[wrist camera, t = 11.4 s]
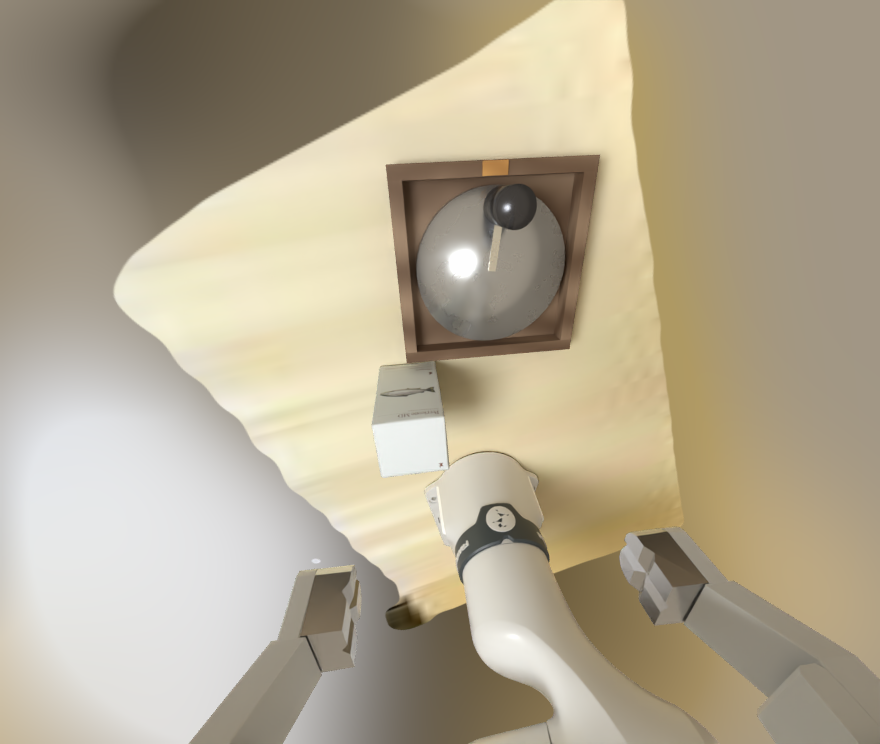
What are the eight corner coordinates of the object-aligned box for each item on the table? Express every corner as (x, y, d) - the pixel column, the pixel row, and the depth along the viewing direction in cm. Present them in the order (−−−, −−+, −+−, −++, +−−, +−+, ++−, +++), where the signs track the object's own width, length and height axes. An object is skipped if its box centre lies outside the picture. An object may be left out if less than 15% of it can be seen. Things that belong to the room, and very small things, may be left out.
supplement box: (435, 358, 42) (447, 416, 31) (439, 405, 46) (450, 472, 35) (378, 364, 42) (370, 424, 31) (386, 411, 45) (381, 480, 34)
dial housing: (559, 339, 43) (570, 349, 40) (406, 352, 41) (406, 363, 39) (584, 158, 33) (601, 154, 30) (387, 167, 32) (385, 164, 29)
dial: (540, 336, 41) (564, 360, 35) (413, 332, 39) (415, 357, 33) (574, 192, 34) (611, 191, 28) (419, 178, 32) (422, 174, 26)
